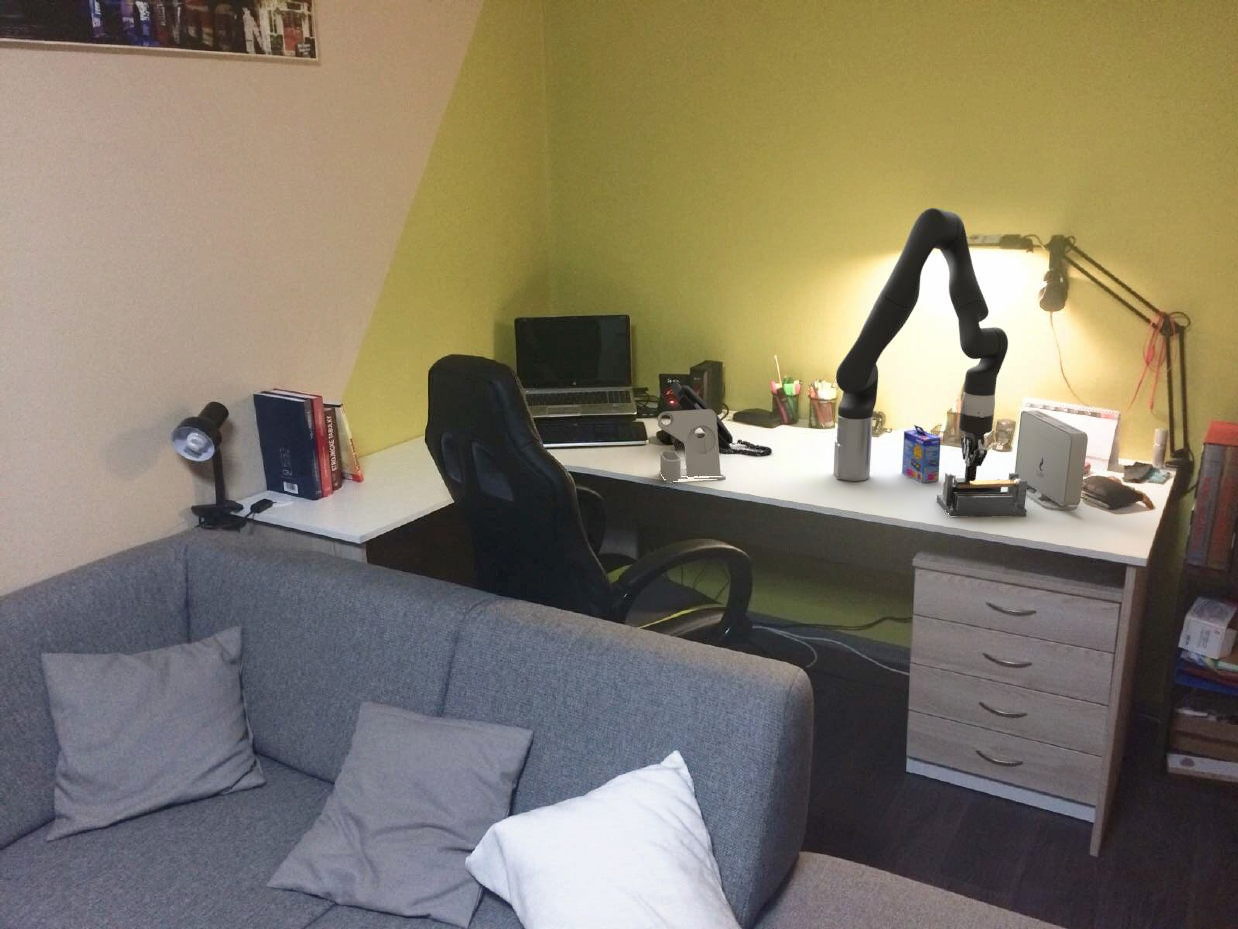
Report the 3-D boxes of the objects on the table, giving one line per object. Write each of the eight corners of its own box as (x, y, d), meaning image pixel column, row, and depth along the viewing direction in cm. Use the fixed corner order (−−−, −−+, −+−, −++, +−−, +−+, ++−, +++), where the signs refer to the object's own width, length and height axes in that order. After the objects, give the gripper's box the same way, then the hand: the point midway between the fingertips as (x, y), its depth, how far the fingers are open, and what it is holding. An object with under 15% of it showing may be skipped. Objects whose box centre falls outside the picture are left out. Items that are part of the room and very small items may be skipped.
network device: (1005, 482, 258) (1012, 409, 253) (1037, 481, 259) (1045, 408, 253) (1054, 515, 234) (1064, 435, 228) (1089, 513, 235) (1099, 433, 229)
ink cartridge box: (900, 473, 268) (903, 422, 264) (917, 470, 270) (920, 420, 266) (921, 483, 259) (925, 431, 255) (939, 481, 261) (943, 428, 257)
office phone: (774, 456, 287) (775, 390, 281) (678, 460, 285) (678, 393, 279) (754, 431, 315) (756, 370, 309) (668, 434, 313) (667, 373, 307)
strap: (957, 490, 236) (958, 482, 236) (952, 485, 240) (953, 477, 239) (1024, 488, 236) (1024, 480, 235) (1018, 483, 239) (1018, 475, 239)
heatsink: (950, 517, 234) (953, 481, 231) (936, 500, 246) (939, 466, 243) (1028, 516, 233) (1032, 480, 231) (1010, 500, 245) (1013, 466, 242)
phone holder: (664, 483, 264) (664, 419, 259) (657, 472, 273) (657, 410, 268) (726, 479, 266) (727, 415, 261) (717, 469, 276) (718, 407, 270)
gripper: (953, 404, 239) (946, 471, 244) (970, 418, 226) (962, 488, 231) (983, 404, 239) (976, 472, 244) (1002, 418, 226) (994, 488, 231)
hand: (969, 479), depth 237 cm, fingers closed
